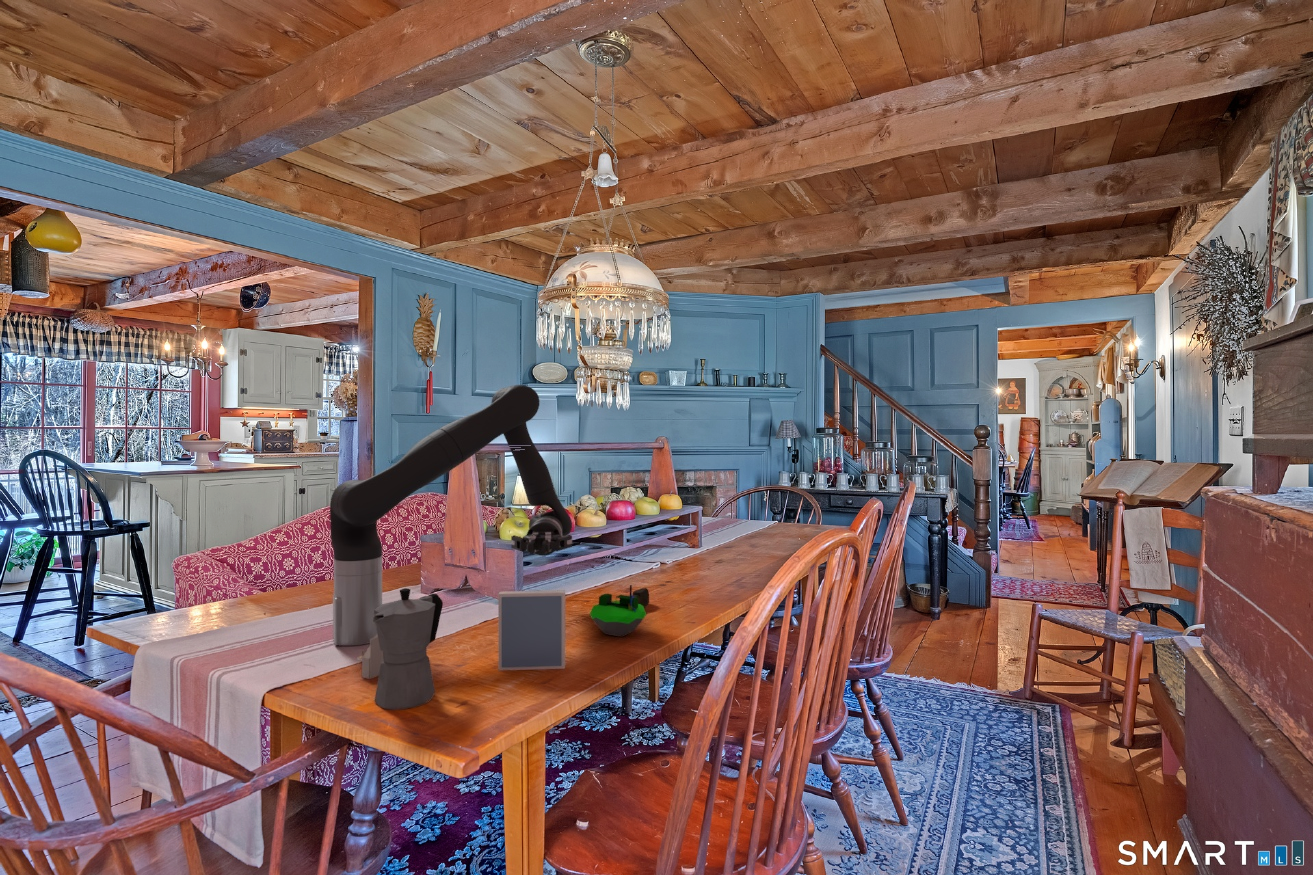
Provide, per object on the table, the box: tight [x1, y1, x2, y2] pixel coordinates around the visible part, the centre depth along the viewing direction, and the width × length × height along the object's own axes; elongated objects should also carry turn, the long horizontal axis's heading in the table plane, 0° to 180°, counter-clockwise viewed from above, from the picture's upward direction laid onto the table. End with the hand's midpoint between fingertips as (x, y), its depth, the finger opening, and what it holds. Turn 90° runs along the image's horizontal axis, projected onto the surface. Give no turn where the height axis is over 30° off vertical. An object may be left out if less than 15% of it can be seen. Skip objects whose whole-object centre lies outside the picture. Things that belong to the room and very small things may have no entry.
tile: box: [497, 589, 566, 671], centre depth 124 cm, size 12×2×14 cm, turn 95°
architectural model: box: [356, 634, 383, 680], centre depth 122 cm, size 3×7×7 cm, turn 155°
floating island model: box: [589, 584, 647, 637], centre depth 145 cm, size 12×12×11 cm
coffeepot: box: [373, 587, 444, 711], centre depth 110 cm, size 15×9×18 cm, turn 159°
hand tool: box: [632, 587, 650, 609], centre depth 162 cm, size 19×4×5 cm, turn 147°
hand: (537, 548), depth 135 cm, fingers closed
